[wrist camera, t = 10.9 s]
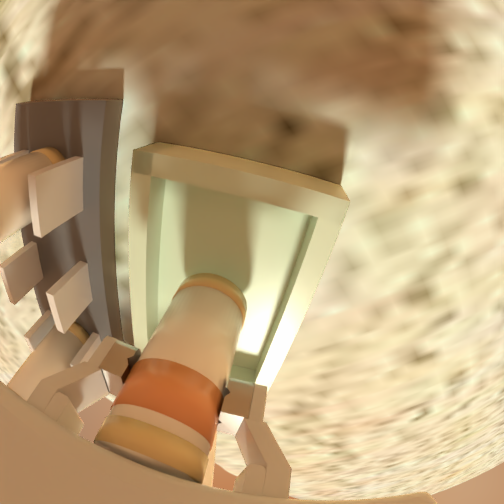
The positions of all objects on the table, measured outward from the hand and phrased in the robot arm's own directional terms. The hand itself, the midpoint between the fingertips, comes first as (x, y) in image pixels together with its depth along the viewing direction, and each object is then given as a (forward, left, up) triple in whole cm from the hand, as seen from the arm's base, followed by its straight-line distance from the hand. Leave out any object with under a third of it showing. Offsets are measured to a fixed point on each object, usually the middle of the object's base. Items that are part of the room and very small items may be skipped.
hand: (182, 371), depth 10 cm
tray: (0, 0, -7) cm, 7 cm away
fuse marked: (0, 0, -5) cm, 5 cm away
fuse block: (+2, -11, -7) cm, 13 cm away
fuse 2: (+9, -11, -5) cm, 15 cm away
